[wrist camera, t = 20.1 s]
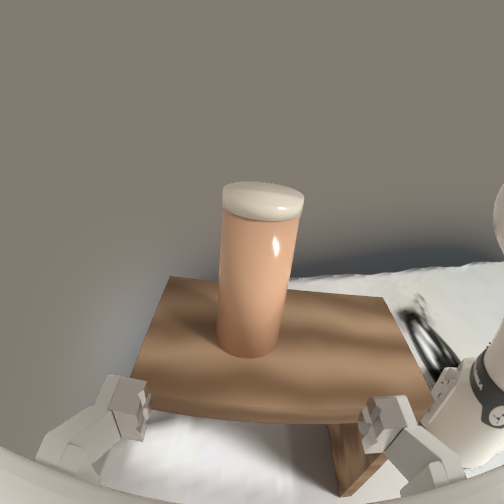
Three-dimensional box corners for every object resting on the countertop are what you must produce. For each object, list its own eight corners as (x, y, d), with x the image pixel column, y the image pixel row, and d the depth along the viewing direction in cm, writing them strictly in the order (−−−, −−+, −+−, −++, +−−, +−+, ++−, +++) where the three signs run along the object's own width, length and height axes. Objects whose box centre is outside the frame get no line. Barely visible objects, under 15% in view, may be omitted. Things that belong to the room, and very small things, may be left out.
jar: (241, 310, 29) (254, 178, 24) (290, 335, 27) (317, 195, 21) (201, 337, 25) (206, 189, 20) (253, 369, 23) (276, 211, 17)
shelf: (350, 496, 29) (435, 401, 20) (156, 488, 28) (125, 388, 19) (334, 407, 43) (382, 297, 34) (175, 396, 42) (170, 276, 33)
